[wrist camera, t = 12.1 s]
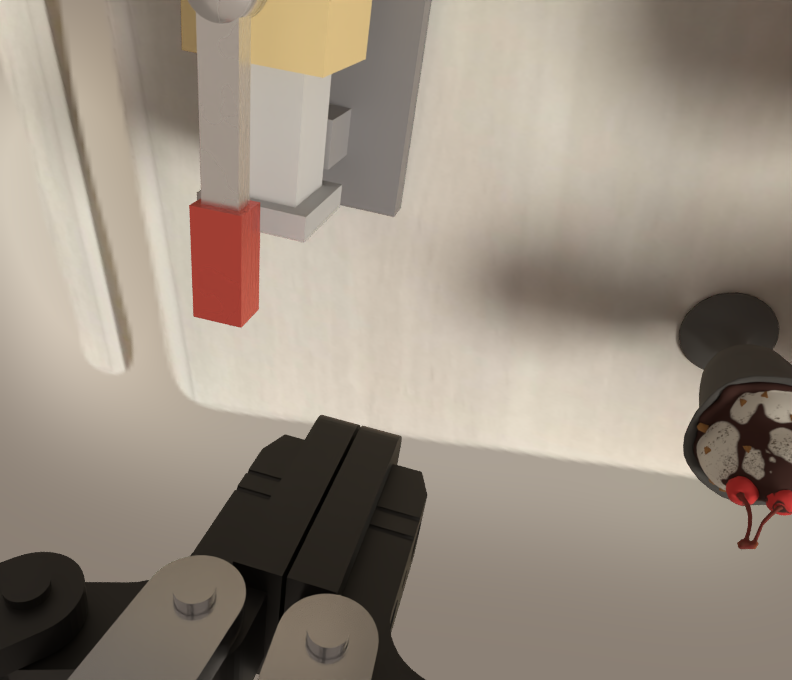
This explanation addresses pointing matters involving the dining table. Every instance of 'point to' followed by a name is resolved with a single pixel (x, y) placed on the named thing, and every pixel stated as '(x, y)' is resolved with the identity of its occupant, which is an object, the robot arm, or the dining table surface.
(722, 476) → the sundae
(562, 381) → the dining table surface
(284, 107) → the valve stand
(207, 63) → the valve lever
